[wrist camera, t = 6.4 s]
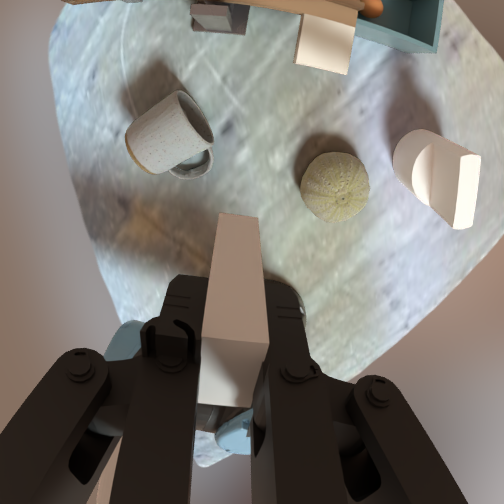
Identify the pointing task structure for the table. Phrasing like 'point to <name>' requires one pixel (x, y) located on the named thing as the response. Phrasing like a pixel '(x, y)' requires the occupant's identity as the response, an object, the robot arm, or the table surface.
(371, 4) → the ball
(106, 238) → the table surface
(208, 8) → the support blocks
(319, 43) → the wooden ramp track
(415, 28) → the open box
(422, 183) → the cylinder with rectangular tab
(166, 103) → the ceramic mug
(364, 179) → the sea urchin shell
